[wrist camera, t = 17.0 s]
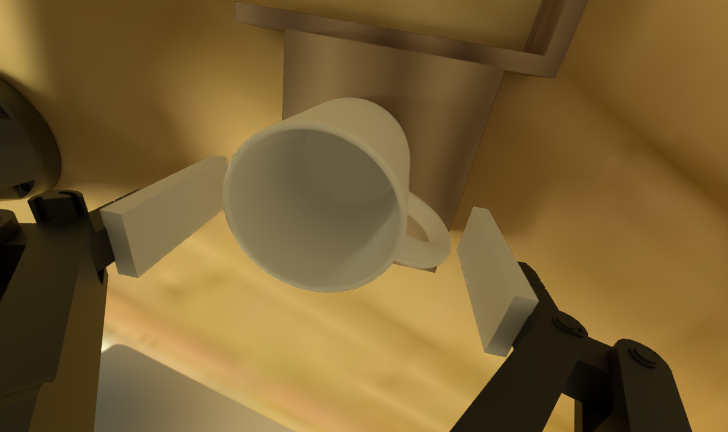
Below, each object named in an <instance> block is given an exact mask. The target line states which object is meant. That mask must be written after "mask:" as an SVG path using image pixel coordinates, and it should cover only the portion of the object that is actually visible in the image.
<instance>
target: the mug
mask: <svg viewBox="0 0 728 432" xmlns="http://www.w3.org/2000/svg"><path fill="white" fill-rule="evenodd" d="M409 172H410V153H409V146H408V143H407V139H406V136H405V134H404V132H403V130H402V128H401V126H400V125H399V123H398V122H397V121H396V119H395V118H394V117H393V116H392V115H391V114H390V113H389V112H388V111H386V110H385V109H384V108H382V107H381V106H379V105H377V104H375V103H373V102H371V101H368V100H364V99H360V98H352V97H350V98H339V99H334V100H331V101H328V102H325V103H322V104H320V105H318V106H316V107H313V108H311V109H309V110H306V111H304V112H302V113H299V114H297V115H295V116H292V117H290V118H288V119H285V120H283V121H281V122H279V123H276V124H274V125H272V126H269V127H267V128H265V129H263V130H261V131H259V132H257V133H256V134H254V135H253V136H252V137H250V138H249V139H248V140H246V141H245V142H244V143H243V144H242V145H241V147H240V148H239V149H238V150H237V152H236V153H235V154H234V156H233V157H232V159H231V161H230V164H229V166H228V168H227V171H226V174H225V178H224V183H223V206H224V212H225V216H226V219H227V222H228V225H229V227H230V230H231V232H232V234H233V236H234V237H235V239H236V241H237V242H238V244H239V245H240V247H241V248H242V250H243V251H244V252H245V253H246V254H247V255H248V257H249V258H250V259H251V260H252V261H253V262H254V263H256V264H257V265H258V266H259V267H260V268H261V269H263V270H264V271H265V272H267V273H268V274H270V275H271V276H273V277H275V278H276V279H278V280H280V281H282V282H284V283H286V284H289V285H291V286H294V287H297V288H301V289H304V290H309V291H314V292H326V293H330V292H342V291H348V290H352V289H356V288H359V287H361V286H363V285H366V284H368V283H370V282H371V281H373V280H375V279H376V278H378V277H379V276H380V275H381V274H383V273H384V272H385V271H386V270H387V269H388V268H389V267H390V266H391V265H392V263H393V262H394V261H397V262H399V263H402V264H405V265H407V266H411V267H415V268H432V267H435V266H438V265H440V264H441V263H443V262H444V261H445V260H446V259H447V257H448V255H449V254H450V251H451V238H450V235H449V232H448V230H447V228H446V226H445V224H444V223H443V221H442V220H441V218H440V217H439V216H438V215H437V214H436V212H435V211H434V210H433V209H432V208H431V207H429V206H428V205H427V204H426V203H425V202H424V201H422V200H421V199H420V198H418V197H417V196H416V195H414V194H413V193H411V192H410V191H409ZM408 215H409V216H410V217H412V218H413V219H414V220H415V221H416V222H417V223H418V224H419V225H420V226H421V227H422V228H423V229H424V231H425V232H426V234H427V236H428V240H429V242H424V241H421V240H419V239H416V238H414V237H412V236H411V235H409V234H407V233H406V230H407V216H408Z"/></svg>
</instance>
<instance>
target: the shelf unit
mask: <svg viewBox="0 0 728 432" xmlns="http://www.w3.org/2000/svg"><path fill="white" fill-rule="evenodd" d="M587 2H588V0H542V2H541V5H540V8H539V11H538V13H537V16H536V19H535V22H534V24H533V27H532V30H531V33H530V35H529V38H528V41H527V44H526V47H525V49H524V52H520V51H514V50H508V49H502V48H497V47H491V46H485V45H480V44H474V43H468V42H463V41H457V40H451V39H445V38H440V37H434V36H428V35H423V34H417V33H411V32H406V31H400V30H394V29H388V28H383V27H377V26H371V25H366V24H360V23H354V22H349V21H343V20H337V19H331V18H326V17H320V16H314V15H309V14H303V13H297V12H292V11H286V10H280V9H275V8H269V7H263V6H257V5H252V4H246V3H240V2H235V1H234V5H235V21H237V22H241V23H245V24H249V25H253V26H258V27H262V28H266V29H272V30H278V31H283V32H285V42H284V77H283V112H282V121H283V120H285V119H288V118H290V117H292V116H295V115H297V114H299V113H302V112H304V111H306V110H309V109H311V108H313V107H316V106H318V105H320V104H322V103H325V102H328V101H331V100H334V99H339V98H350V97H352V98H360V99H364V100H368V101H371V102H373V103H375V104H377V105H379V106H381V107H382V108H384V109H385V110H386V111H388V112H389V113H390V114H391V115H392V116H393V117H394V118H395V119H396V121H397V122H398V123H399V125H400V126H401V128H402V130H403V132H404V134H405V136H406V139H407V143H408V146H409V153H410V172H409V191H410V192H411V193H413V194H414V195H416V196H417V197H418V198H420V199H421V200H422V201H424V202H425V203H426V204H427V205H428V206H429V207H431V208H432V209H433V210H434V211H435V212H436V214H437V215H438V216H439V217H440V218H441V220H442V221H443V223H444V224H445V226H446V228H447V230H448V232H449V230H450V228H451V225H452V222H453V219H454V216H455V213H456V210H457V207H458V204H459V201H460V199H461V196H462V193H463V190H464V187H465V184H466V181H467V178H468V175H469V173H470V170H471V167H472V164H473V161H474V158H475V155H476V152H477V149H478V146H479V144H480V141H481V138H482V135H483V132H484V129H485V126H486V123H487V120H488V118H489V115H490V112H491V109H492V106H493V103H494V100H495V97H496V94H497V92H498V89H499V86H500V83H501V80H502V77H503V74H504V71H506V72H511V73H517V74H522V75H528V76H536V77H545V78H555V77H556V75H557V73H558V70H559V68H560V65H561V63H562V61H563V58H564V56H565V54H566V51H567V49H568V46H569V44H570V42H571V39H572V37H573V35H574V32H575V30H576V28H577V25H578V23H579V20H580V18H581V16H582V13H583V11H584V9H585V6H586V4H587ZM406 233H407V234H409V235H411V236H412V237H414V238H416V239H419V240H421V241H424V242H429V240H428V236H427V234H426V232H425V231H424V229H423V228H422V227H421V226H420V225H419V224H418V223H417V222H416V221H415V220H414V219H413V218H412V217H410V216H409V215H408V216H407V230H406ZM393 264H398V265H402V266H407V265H405V264H402V263H399V262H397V261H394V262H393ZM407 267H411V266H407ZM411 268H415V267H411ZM436 268H437V266H435V267H432V268H416V269H420V270H425V271H429V272H434V273H435V271H436Z"/></svg>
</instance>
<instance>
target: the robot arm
mask: <svg viewBox="0 0 728 432" xmlns="http://www.w3.org/2000/svg"><path fill="white" fill-rule="evenodd" d="M227 168H228V167H227V157H222V156H217V155H211V156H209V157H207V158H205V159H203V160H201V161H199V162H197V163H195V164H193V165H191V166H189V167H187V168H185V169H182V170H180V171H178V172H176V173H174V174H172V175H170V176H168V177H166V178H164V179H162V180H160V181H158V182H156V183H154V184H152V185H149V186H147V187H145V188H143V189H139V190H135V191H133V192H131V193H129V194H126V195H124V197H120V198H118V199H116V200H115V201H112V202H110V203H108V204H106V205H103V206H101V207H99V208H97V209H95V210H93V211H91V212H89V213H88V210H87V207H86V204H85V201H84V198H83V195H82V193H80V192H78V191H73V190H56V191H49V192H46V191H48V190H50V189H51V188H52V187H53V186H54V185H55V184H56V182H57V180H58V178H59V174H60V158H59V153H58V150H57V147H56V144H55V141H54V139H53V137H52V135H51V133H50V131H49V129H48V127H47V126H46V124H45V122H44V121H43V120H42V118H41V117H40V115H39V114H38V113H37V111H36V110H35V109H34V108H33V107H32V105H31V104H30V103H29V102H28V101H27V100H26V99H25V98H24V97H23V96H22V95H21V94H20V93H19V92H18V91H17V90H15V89H14V88H13V87H12V86H11V85H9V84H8V83H7V82H5V81H4V80H2V79H1V78H0V201H10V200H20V199H25V198H29V197H31V198H30V199H29V200H28V204H29V206H30V209H31V211H32V213H33V216H34V218H35V220H36V223H18V221H17V218H16V216H15V214H14V212H13V211H10V210H5V209H0V432H93V431H94V421H95V410H96V399H97V389H98V379H99V378H98V377H99V367H100V356H101V347H102V336H103V326H104V315H105V305H106V294H107V283H108V273H107V269H106V267H107V266H108V265H110V264H111V263H113V262H114V261H115V263H116V267H117V270H118V273H119V274H122V275H127V276H131V277H136V278H138V277H140V276H141V275H142V274H143V273H145V272H146V271H147V270H148V269H150V268H151V267H152V266H153V265H155V264H156V263H157V262H158V261H159V260H161V259H162V258H163V257H164V256H166V255H167V254H168V253H169V252H171V251H172V250H173V249H174V248H176V247H177V246H178V245H179V244H181V243H182V242H183V241H184V240H185V239H187V238H188V237H189V236H190V235H192V234H193V233H194V232H195V231H197V230H198V229H199V228H200V227H202V226H203V225H204V224H205V223H207V222H208V221H209V220H210V219H211V218H213V217H214V216H215V215H216V214H218V213H219V212H220V211H221V210H223V209H224V206H223V183H224V178H225V174H226V171H227ZM43 192H45V193H43ZM40 193H41V194H40ZM37 194H38V195H37ZM34 195H35V196H34ZM32 196H33V197H32ZM457 252H458V256H459V259H460V263H461V267H462V271H463V274H464V278H465V282H466V286H467V289H468V293H469V297H470V300H471V304H472V308H473V312H474V315H475V319H476V323H477V327H478V330H479V334H480V338H481V341H482V345H483V349H484V353H489V354H494V355H498V356H503V357H506V356H507V354H508V352H509V351H510V349H511V347H512V346H513V349H514V350H513V352H512V353H511V354H510V355H509V357H508V358H507V359H506V361H505V362H504V363H503V364H502V366H501V367H500V368H499V369H498V371H497V372H496V373H495V375H494V376H493V377H492V378H491V380H490V381H489V382H488V383H487V385H486V386H485V387H484V389H483V390H482V391H481V392H480V394H479V395H478V396H477V397H476V399H475V400H474V401H473V402H472V404H471V405H470V406H469V408H468V409H467V410H466V411H465V413H464V414H463V415H462V416H461V418H460V419H459V420H458V422H457V423H456V424H455V425H454V427H453V428H452V429H451V430H450V432H542V431H543V429H544V427H545V425H546V423H547V421H548V419H549V417H550V415H551V413H552V411H553V409H554V407H555V405H556V403H557V401H558V399H559V397H560V395H561V393H563V394H565V395H567V396H569V397H571V398H573V399H575V415H574V432H692V430H691V427H690V424H689V421H688V418H687V415H686V412H685V410H684V407H683V404H682V401H681V398H680V395H679V392H678V389H677V386H676V383H675V380H674V377H673V374H672V371H671V369H670V368H669V366H668V364H667V363H666V362H665V361H664V360H663V359H662V358H661V357H660V356H659V355H658V354H657V353H656V352H655V351H653V350H652V349H650V348H649V347H646V346H644V345H642V344H641V343H638V342H636V341H633V340H630V339H620V340H618V341H617V342H616V343H615V345H614V346H613V347H611V346H609V345H607V344H604V343H602V342H599V341H597V340H595V339H592V338H590V337H588V333H587V331H586V329H585V328H584V327H583V326H582V325H581V323H580V322H579V321H577V320H576V319H574V318H573V317H572V316H570V315H568V314H566V313H564V312H561V311H559V310H558V308H557V306H556V305H555V303H554V301H553V300H552V298H551V296H550V295H549V293H548V292H547V290H546V289H545V287H544V285H543V283H542V282H540V281H541V280H540V279H539V277H538V275H537V274H536V272H535V271H534V270H533V269H532V268H531V267H530V266H528V265H527V264H526V263H523V262H518V261H517V260H516V259H515V257H514V255H513V253H512V251H511V249H510V248H509V246H508V244H507V242H506V240H505V239H504V237H503V235H502V233H501V231H500V230H499V228H498V226H497V224H496V222H495V221H494V219H493V217H492V215H491V213H490V212H489V210H488V209H485V208H480V207H475V206H473V208H472V211H471V214H470V216H469V219H468V222H467V224H466V227H465V230H464V232H463V235H462V238H461V241H460V243H459V246H458V249H457Z"/></svg>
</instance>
